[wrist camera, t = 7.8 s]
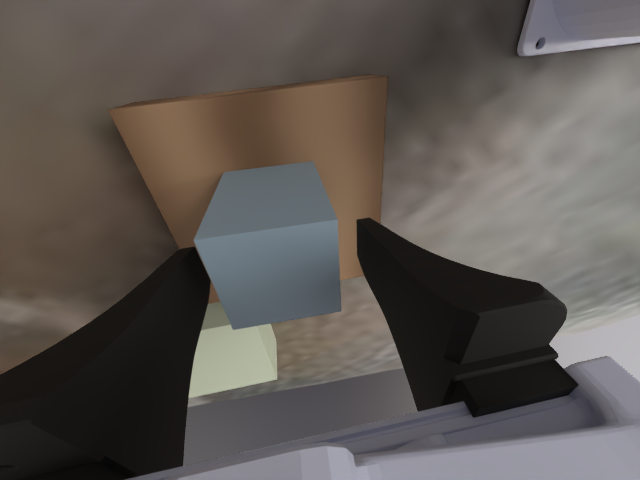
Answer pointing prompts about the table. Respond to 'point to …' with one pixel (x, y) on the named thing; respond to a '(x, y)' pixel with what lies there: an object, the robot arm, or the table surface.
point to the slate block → (272, 245)
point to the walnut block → (263, 148)
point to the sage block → (231, 355)
